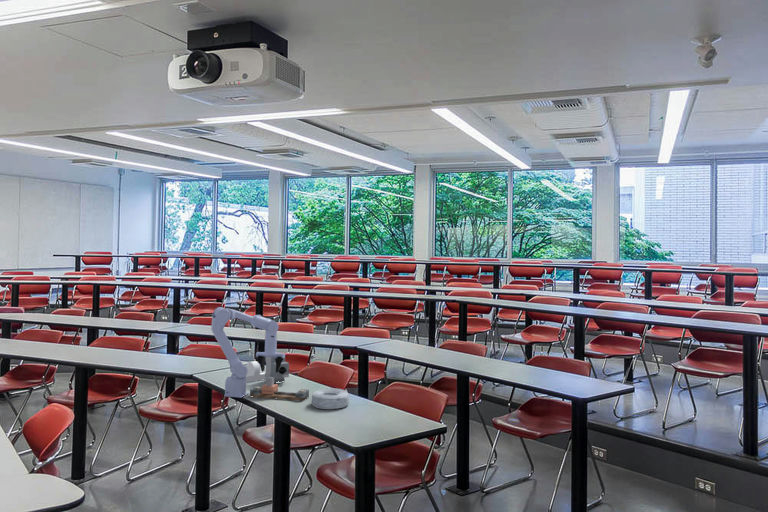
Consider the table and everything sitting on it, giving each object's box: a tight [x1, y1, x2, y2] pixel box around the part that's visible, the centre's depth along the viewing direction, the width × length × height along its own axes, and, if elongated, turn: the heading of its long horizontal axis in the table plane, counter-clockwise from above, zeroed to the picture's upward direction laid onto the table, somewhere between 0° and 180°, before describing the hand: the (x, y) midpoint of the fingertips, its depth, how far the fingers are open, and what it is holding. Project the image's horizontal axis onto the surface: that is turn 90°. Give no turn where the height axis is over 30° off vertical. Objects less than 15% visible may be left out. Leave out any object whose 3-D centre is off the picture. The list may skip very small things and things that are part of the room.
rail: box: [249, 385, 310, 402], centre depth 264 cm, size 27×8×4 cm, turn 79°
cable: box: [311, 387, 350, 410], centre depth 253 cm, size 18×18×6 cm
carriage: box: [261, 377, 279, 394], centre depth 265 cm, size 6×6×7 cm
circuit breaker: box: [264, 357, 290, 383], centre depth 293 cm, size 8×14×15 cm, turn 40°
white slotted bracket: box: [245, 360, 266, 383], centre depth 300 cm, size 10×18×10 cm, turn 133°
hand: (270, 371), depth 273 cm, fingers open, 7 cm apart
